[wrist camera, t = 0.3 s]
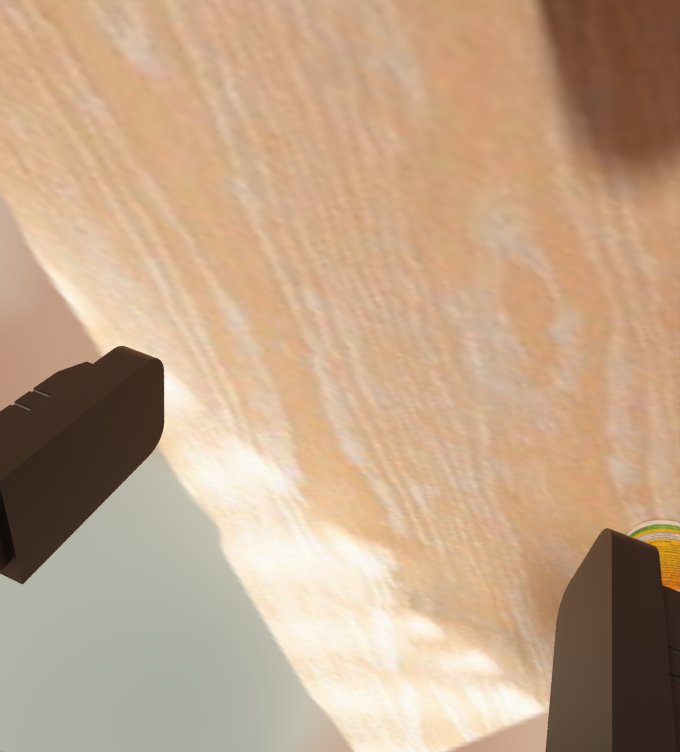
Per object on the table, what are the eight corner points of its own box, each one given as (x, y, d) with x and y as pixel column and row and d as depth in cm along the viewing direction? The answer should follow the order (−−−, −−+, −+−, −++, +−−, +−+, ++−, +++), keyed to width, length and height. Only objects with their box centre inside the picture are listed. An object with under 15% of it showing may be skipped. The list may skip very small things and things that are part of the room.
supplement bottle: (605, 543, 45) (605, 657, 37) (663, 504, 41) (676, 620, 34) (665, 586, 45) (678, 709, 37) (728, 550, 41) (756, 677, 34)
